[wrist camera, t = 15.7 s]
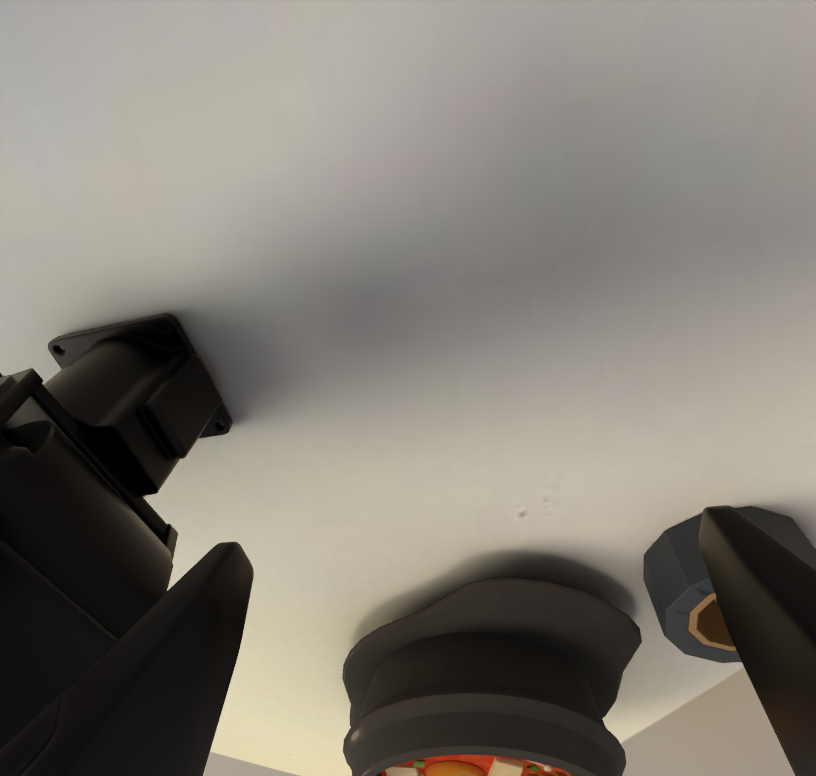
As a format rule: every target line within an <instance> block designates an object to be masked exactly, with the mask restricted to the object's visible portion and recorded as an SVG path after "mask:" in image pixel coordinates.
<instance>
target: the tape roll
mask: <svg viewBox="0 0 816 776" xmlns="http://www.w3.org/2000/svg"><path fill="white" fill-rule="evenodd" d="M736 510H737V511H739V512H740V513H741V514H743V515H744V516H745V517H747V518H748V519H749V520H751V521H752V522H753V523H755V524H756V525H758V526H759V527H760V528H762V529H763V530H764V531H766V532H767V533H768V534H770V535H771V536H772V537H774V538H775V539H776V540H778V541H779V542H780V543H782V544H783V545H784V546H786V547H787V548H788V549H790V550H791V551H792V552H794V553H795V554H796V555H798V556H799V557H801V558H802V559H803V560H805V561H806V562H807V563H809V564H810V565H811V566H813V567H814V568H815V569H816V549H815V548H814V546H813V545H812V544H811V542H810V541H809V540H808V538H807V537H806V536H805V535H804V533H803V532H802V531H801V529H800V528H799V527H798V526H797V524H796V523H795V522H794V520H793V519H792V518H790V517H786V516H783V515H779V514H776V513H772V512H768V511H765V510H761V509H758V508H753V507H747V508H738V509H736ZM701 520H702V514H701V515H699V516H696V517H694V518H692V519H690V520H688V521H685V522H683V523H681V524H679V525H677V526H675V527H672V528H670V529H668V530H667V531H665V532H664V533H663V534H662V535H661V536H660V538H659V539H658V540H657V541H656V542H655V543H654V544H653V546H652V547H651V548H650V549H649V550H648V551H647V552H646V553H645V555H644V582H645V585H646V587H647V590H648V593H649V596H650V598H651V601H652V604H653V606H654V609H655V612H656V614H657V617H658V620H659V623H660V625H661V628H662V631H663V633H664V636H665V637H666V638H668V639H669V640H670V641H671V642H672V643H673V644H674V645H675V646H676V647H678V648H679V649H680V650H681V651H682V652H683V653H684V654H687V655H691V656H695V657H699V658H704V659H708V660H712V661H716V662H720V663H721V662H722V663H729V662H742V661H741V659H740V657H739V655H738V652H737V650H736V648H735V646H734V644H733V641H732V639H731V637H730V634H729V632H728V629H727V626H726V624H725V621H724V618H723V615H722V612H721V610H720V608H719V606H718V604H717V603H716V601H715V600H714V599H715V598H717V597H716V595H715V592H714V589H713V586H712V583H711V580H710V577H709V574H708V571H707V568H706V565H705V562H704V559H703V556H702V554H701V550H700V546H699V532H700V526H701Z"/></svg>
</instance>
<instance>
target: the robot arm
mask: <svg viewBox="0 0 816 776" xmlns="http://www.w3.org/2000/svg"><path fill="white" fill-rule="evenodd" d="M164 323H166V324H168V325H169V326H170V328H171V329H168V328H166V327H165V325H164ZM60 346H61V347H62V348H63V349H64V350H63V349H62V348H61V347H60ZM48 349H49V351H50V353H51V354H52V356H53V357H54V358H55V360H56V361H57V363H58V364H59V365H60V367H61V368H62V370H61V371H60V372H59V373H58V374H56V375H55V376H54V377H53V378H51V379H50V380H49V381H48V382H46V383H45V384H44V385H43V384H42V382H43V380H42V378H41V377H40V376H39V375H38V374H37V373H36V372H35V370H34V369H33V368H31V369H28V370H25V371H22V372H19V373H16V374H13V375H8V376H4V377H3V376H2V374H1V373H0V776H203V772H204V769H205V766H206V762H207V759H208V755H209V752H210V749H211V745H212V742H213V739H214V735H215V732H216V728H217V725H218V722H219V718H220V715H221V711H222V708H223V705H224V701H225V698H226V694H227V691H228V688H229V684H230V681H231V677H232V674H233V671H234V667H235V664H236V660H237V656H238V653H239V649H240V644H241V640H242V635H243V630H244V624H245V619H246V614H247V608H248V603H249V598H250V593H251V587H252V582H253V567H252V565H251V563H250V561H249V559H248V557H247V556H246V554H245V552H244V551H243V549H242V547H241V545H240V544H239V543H237V542H226V543H219V544H217V545H216V546H214V547H213V548H212V549H211V550H210V551H209V552H208V553H207V554H206V555H205V556H204V557H203V558H202V559H201V560H200V561H199V562H198V563H197V564H196V565H194V566H193V567H192V568H191V569H190V570H189V571H188V572H187V573H186V574H185V575H184V576H183V577H182V578H181V579H180V580H179V581H178V582H177V583H176V584H175V585H174V586H172V587H171V588H170V589H169V590H168V591H167V588H168V585H169V581H170V576H171V572H172V568H173V563H172V561H173V556H174V551H175V546H176V541H177V536H178V533H177V531H176V530H175V529H174V528H173V527H172V526H171V525H170V524H166V523H165V522H164V521H163V519H162V518H161V517H160V516H159V515H158V514H157V513H156V512H155V510H154V509H153V508H152V507H151V506H150V505H149V504H148V503H147V501H146V500H145V499H144V497H145V496H146V495H151V494H155V493H157V492H158V491H159V489H160V488H161V486H162V485H163V483H164V482H165V480H166V479H167V477H168V476H169V474H170V473H171V471H172V470H173V468H174V467H175V466H176V464H177V463H178V461H179V460H180V459H182V458H185V457H186V456H187V454H188V453H189V451H190V450H191V448H192V447H193V445H194V444H195V442H196V441H197V439H198V438H204V437H210V436H217V435H223V434H226V433H228V432H229V430H230V429H231V427H232V424H233V423H232V420H231V418H230V416H229V414H228V412H227V410H226V408H225V407H224V405H223V403H222V399H221V397H220V395H219V393H218V391H217V389H216V388H215V386H214V384H213V382H212V380H211V378H210V376H209V374H208V372H207V371H206V369H205V367H204V365H203V363H202V361H201V359H200V358H199V357H198V356H197V354H196V352H195V350H194V348H193V347H192V345H191V343H190V341H189V339H188V337H187V335H186V334H185V332H184V330H183V328H182V326H181V324H180V322H179V321H178V320H177V318H175V317H174V316H173V315H170V314H161V315H156V316H152V317H147V318H142V319H138V320H133V321H128V322H124V323H119V324H114V325H110V326H105V327H101V328H96V329H91V330H87V331H82V332H77V333H73V334H68V335H63V336H59V337H56V338H55V339H53V340H52V341H50V342H49V344H48ZM218 422H219V423H222V424H223V425H224V426H222V425H220V424H219V423H218ZM699 546H700V550H701V554H702V556H703V559H704V562H705V565H706V568H707V571H708V574H709V577H710V580H711V583H712V586H713V589H714V592H715V595H716V597H717V600H718V603H719V606H720V609H721V612H722V615H723V618H724V621H725V624H726V626H727V629H728V632H729V634H730V637H731V639H732V641H733V644H734V646H735V648H736V650H737V652H738V655H739V657H740V659H741V661H742V663H743V665H744V667H745V669H746V672H747V674H748V676H749V678H750V680H751V682H752V684H753V686H754V688H755V691H756V693H757V695H758V697H759V699H760V701H761V703H762V706H763V707H764V710H765V712H766V714H767V716H768V718H769V720H770V723H771V725H772V727H773V729H774V731H775V733H776V735H777V737H778V740H779V742H780V744H781V746H782V748H783V750H784V752H785V754H786V757H787V759H788V761H789V763H790V765H791V767H792V769H793V771H794V774H795V776H816V569H815V568H814V567H813V566H811V565H810V564H809V563H807V562H806V561H805V560H803V559H802V558H801V557H799V556H798V555H796V554H795V553H794V552H792V551H791V550H790V549H788V548H787V547H786V546H784V545H783V544H782V543H780V542H779V541H778V540H776V539H775V538H774V537H772V536H771V535H770V534H768V533H767V532H766V531H764V530H763V529H762V528H760V527H759V526H758V525H756V524H755V523H753V522H752V521H751V520H749V519H748V518H747V517H745V516H744V515H743V514H741V513H740V512H739V511H737V510H736V509H735V508H733V507H731V506H713V507H706V508H705V509H704V510H703V513H702V520H701V526H700V532H699Z"/></svg>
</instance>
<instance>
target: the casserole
mask: <svg viewBox="0 0 816 776" xmlns="http://www.w3.org/2000/svg"><path fill="white" fill-rule="evenodd" d="M641 642H642V640H641V634H640V628H639V627H638V626H637V625H636V623H635V622H634V621H633V620H632V619H631V618H630V617H629V616H628V615H627V614H626V613H624V612H623V611H621V610H620V609H618V608H617V607H615V606H614V605H612V604H611V603H609V602H607V601H605V600H603V599H600V598H598V597H596V596H593V595H591V594H589V593H587V592H584V591H582V590H578V589H574V588H570V587H567V586H563V585H559V584H555V583H551V582H543V581H536V580H528V579H521V578H493V579H487V580H483V581H478V582H474V583H470V584H467V585H465V586H464V587H462V588H460V589H459V590H457V591H455V592H454V593H452V594H450V595H449V596H447V597H445V598H444V599H442V600H440V601H439V602H437V603H435V604H433V605H432V606H430V607H428V608H427V609H425V610H422V611H419V612H417V613H414V614H412V615H409V616H407V617H404V618H402V619H399V620H397V621H394V622H392V623H389V624H387V625H384V626H382V627H379V628H378V629H376V630H375V631H373V632H372V633H370V634H368V635H367V636H365V637H364V638H362V639H361V640H360V641H359V642H358V643H357V644H356V646H355V647H354V648H353V649H352V650H351V651H350V652H349V654H348V657H347V659H346V661H345V663H344V666H343V681H344V685H345V688H346V691H347V694H348V697H349V700H350V703H351V709H350V726H351V728H350V730H349V732H348V734H347V735H346V737H345V739H344V746H343V753H344V755H345V758H346V761H347V763H348V765H349V766H350V768H351V770H352V776H622V774H623V771H624V768H625V766H626V758H625V751H624V749H623V748H622V746H621V744H620V743H619V741H618V740H617V738H616V737H615V736H614V735H613V734H612V733H611V732H610V731H608V730H607V729H606V727H605V725H604V722H603V720H602V718H603V717H605V716H606V714H607V713H608V711H609V710H610V708H611V707H612V706H613V704H614V703H615V701H616V698H617V694H618V690H619V687H620V683H621V679H622V674H623V671H624V670H625V668H626V666H627V665H628V663H629V661H630V660H631V658H632V657H633V655H634V653H635V652H636V650H637V649H638V647H639V645H640V644H641Z"/></svg>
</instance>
